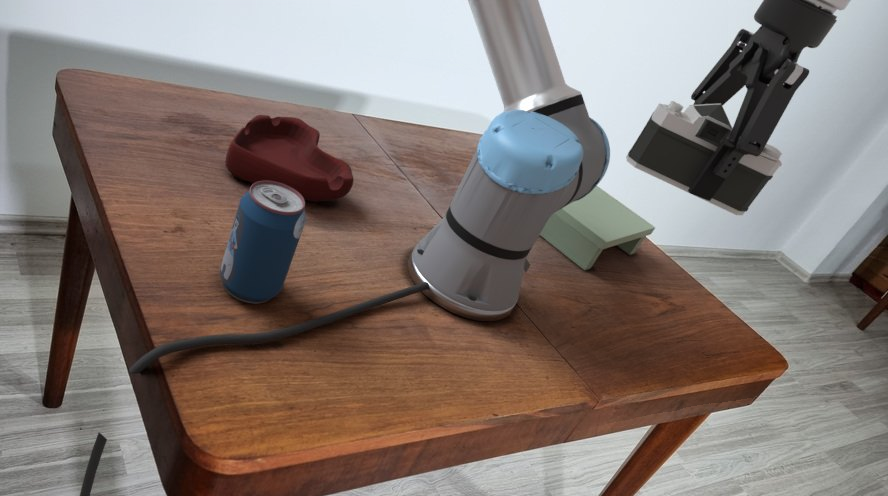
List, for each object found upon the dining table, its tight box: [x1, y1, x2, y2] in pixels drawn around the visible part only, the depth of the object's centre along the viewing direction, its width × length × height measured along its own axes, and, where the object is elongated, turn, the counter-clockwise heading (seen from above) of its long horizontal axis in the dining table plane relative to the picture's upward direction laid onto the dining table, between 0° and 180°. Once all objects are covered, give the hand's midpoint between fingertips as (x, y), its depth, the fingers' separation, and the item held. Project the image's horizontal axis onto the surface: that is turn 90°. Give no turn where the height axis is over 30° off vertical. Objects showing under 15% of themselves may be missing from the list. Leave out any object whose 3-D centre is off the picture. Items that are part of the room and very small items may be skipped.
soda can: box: [219, 181, 307, 305], centre depth 75 cm, size 7×7×12 cm
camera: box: [625, 100, 783, 216], centre depth 85 cm, size 16×9×10 cm, turn 74°
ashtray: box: [224, 114, 355, 206], centre depth 98 cm, size 18×16×5 cm
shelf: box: [539, 185, 656, 271], centre depth 119 cm, size 18×14×6 cm
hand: (685, 177), depth 88 cm, fingers closed on camera, 9 cm apart
